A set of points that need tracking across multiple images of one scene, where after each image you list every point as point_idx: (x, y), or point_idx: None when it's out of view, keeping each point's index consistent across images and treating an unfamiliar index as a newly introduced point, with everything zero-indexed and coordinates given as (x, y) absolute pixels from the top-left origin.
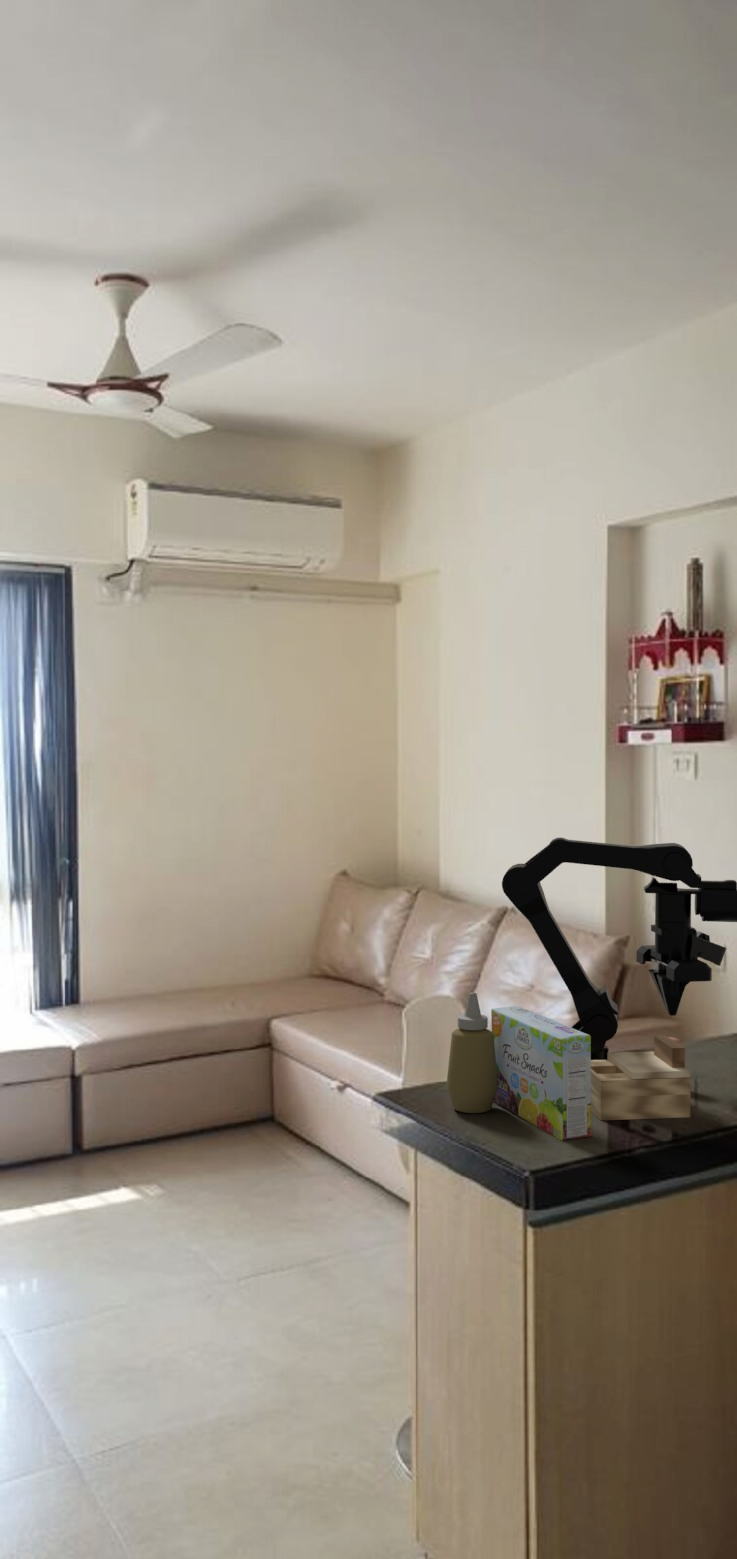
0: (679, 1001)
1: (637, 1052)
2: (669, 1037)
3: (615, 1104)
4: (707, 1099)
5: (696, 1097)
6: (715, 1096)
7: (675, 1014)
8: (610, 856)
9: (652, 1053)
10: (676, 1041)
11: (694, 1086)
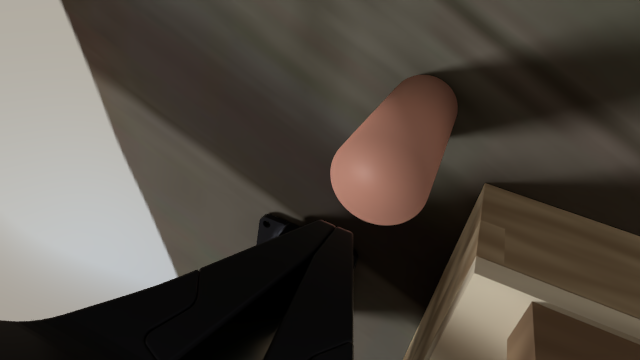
0: (351, 310)
1: (442, 355)
2: (341, 152)
3: None
4: (631, 74)
5: (578, 96)
6: (617, 12)
7: (352, 237)
8: None
9: (486, 329)
10: (427, 178)
11: (448, 5)
